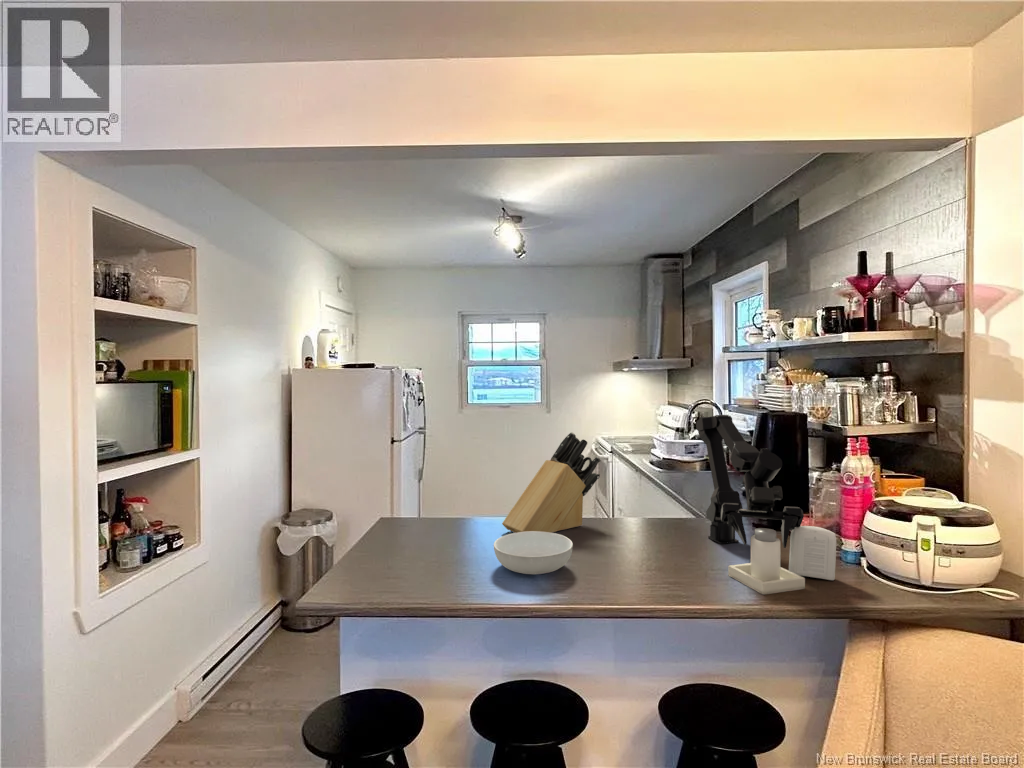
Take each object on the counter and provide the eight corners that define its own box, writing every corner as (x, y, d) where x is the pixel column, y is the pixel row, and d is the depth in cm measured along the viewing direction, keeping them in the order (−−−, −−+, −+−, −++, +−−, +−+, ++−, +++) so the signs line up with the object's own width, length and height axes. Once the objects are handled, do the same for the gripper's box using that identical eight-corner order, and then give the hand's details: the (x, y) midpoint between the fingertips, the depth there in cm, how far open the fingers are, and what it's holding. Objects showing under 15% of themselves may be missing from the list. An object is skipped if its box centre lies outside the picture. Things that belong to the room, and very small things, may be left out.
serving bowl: (531, 549, 154) (531, 526, 154) (588, 568, 139) (588, 542, 139) (477, 568, 139) (477, 542, 139) (535, 591, 124) (535, 562, 124)
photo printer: (832, 576, 132) (834, 527, 133) (837, 582, 128) (838, 531, 129) (787, 570, 135) (788, 522, 136) (790, 575, 131) (792, 525, 132)
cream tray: (767, 570, 137) (767, 560, 136) (804, 588, 125) (804, 578, 125) (728, 575, 133) (728, 565, 133) (763, 594, 122) (763, 584, 122)
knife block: (603, 521, 181) (603, 432, 181) (522, 541, 161) (522, 441, 160) (580, 514, 191) (580, 429, 190) (501, 532, 170) (500, 437, 169)
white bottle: (766, 572, 133) (766, 526, 133) (786, 582, 127) (786, 533, 127) (744, 575, 131) (744, 528, 131) (763, 586, 125) (764, 536, 125)
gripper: (722, 471, 136) (727, 526, 126) (802, 475, 131) (814, 532, 121) (718, 495, 144) (723, 548, 133) (794, 499, 139) (805, 554, 128)
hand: (765, 545), depth 129 cm, fingers open, 8 cm apart
